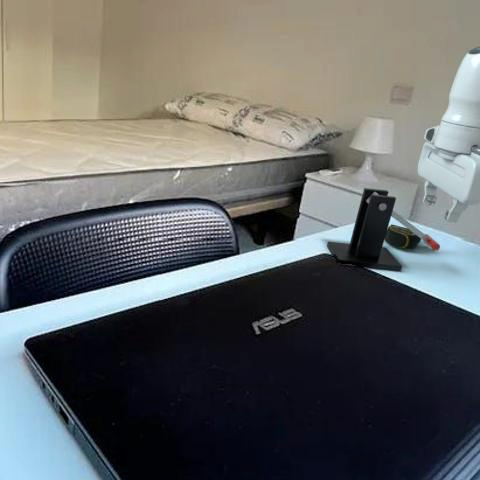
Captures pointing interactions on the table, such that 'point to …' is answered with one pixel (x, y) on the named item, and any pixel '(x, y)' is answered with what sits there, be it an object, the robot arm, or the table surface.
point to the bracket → (369, 235)
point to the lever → (414, 229)
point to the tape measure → (401, 237)
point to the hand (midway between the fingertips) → (438, 212)
